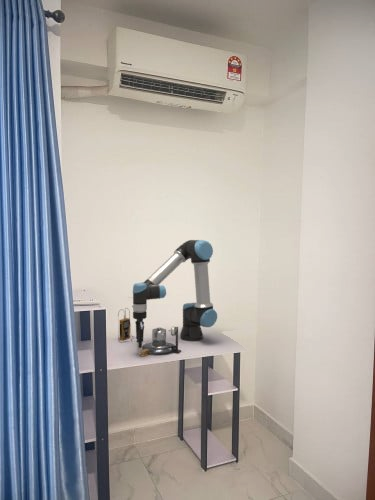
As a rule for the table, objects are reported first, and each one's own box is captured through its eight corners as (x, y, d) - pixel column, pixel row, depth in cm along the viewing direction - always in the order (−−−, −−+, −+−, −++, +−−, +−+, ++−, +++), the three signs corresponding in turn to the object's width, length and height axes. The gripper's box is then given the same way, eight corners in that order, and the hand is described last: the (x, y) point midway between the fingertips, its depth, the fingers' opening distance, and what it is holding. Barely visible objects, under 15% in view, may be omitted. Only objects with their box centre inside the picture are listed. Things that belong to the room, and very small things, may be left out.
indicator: (181, 351, 213) (181, 326, 212) (178, 353, 208) (178, 328, 208) (169, 349, 215) (170, 325, 215) (166, 352, 210) (166, 327, 210)
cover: (157, 343, 222) (158, 325, 222) (172, 346, 216) (172, 327, 215) (145, 347, 213) (145, 328, 213) (160, 350, 207) (160, 331, 206)
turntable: (155, 342, 229) (155, 338, 229) (182, 347, 218) (182, 343, 218) (128, 352, 208) (128, 348, 208) (156, 359, 197) (156, 354, 197)
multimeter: (127, 344, 226) (127, 311, 226) (115, 341, 232) (115, 310, 231) (142, 338, 239) (142, 308, 238) (130, 336, 244) (130, 306, 244)
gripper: (131, 309, 209) (130, 350, 210) (135, 313, 197) (135, 357, 198) (144, 308, 211) (143, 348, 212) (148, 313, 199) (148, 355, 200)
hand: (139, 352), depth 205 cm, fingers closed
